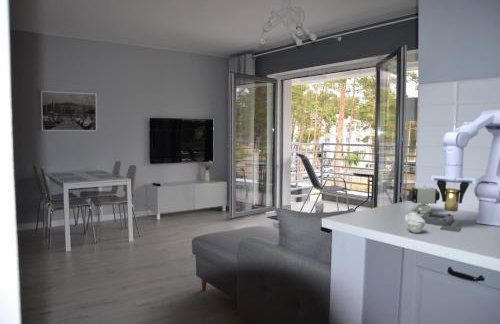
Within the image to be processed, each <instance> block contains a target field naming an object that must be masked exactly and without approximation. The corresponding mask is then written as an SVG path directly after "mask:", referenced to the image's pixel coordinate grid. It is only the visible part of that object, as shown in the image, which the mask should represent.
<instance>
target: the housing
mask: <svg viewBox="0 0 500 324" xmlns="http://www.w3.org/2000/svg"><path fill="white" fill-rule="evenodd" d="M420 217H422V218H423V219H424V220H425V223H426V224H425V225H432V226H440V227H442V226H443V225H446V226H450V225H451V223H452V222H453V221H454V218H455V215H454V214H451V213H439V212H433V211H430V212H426V213H425V214H421V216H420Z"/></svg>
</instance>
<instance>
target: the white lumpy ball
mask: <svg viewBox="0 0 500 324" xmlns="http://www.w3.org/2000/svg"><path fill="white" fill-rule="evenodd" d="M404 219H405V223H406V224H407V228H408V230H409V231H410V232H411V233H414V234H419V233H421V232H422V231H423V229H424V227H425V226H426V224H425V220H424V219H423V218H422V217H421V216H420V215H418V212H409V213H408V214H406V215H405V216H404Z"/></svg>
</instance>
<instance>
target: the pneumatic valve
mask: <svg viewBox="0 0 500 324" xmlns="http://www.w3.org/2000/svg"><path fill="white" fill-rule="evenodd" d="M440 197H441V192H440V190H438V188H434V187H426V185H423V187H412V188H411V190H409V191H408V199H409V200H410V201H411V202H412V203H414V204H418V205H417V206H416V213H419V214H421V215H424V214H425V213H426V212H431V207H430V205H429V204H433V205H434V204H437V202H438V201H439V200H440Z"/></svg>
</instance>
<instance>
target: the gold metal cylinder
mask: <svg viewBox="0 0 500 324" xmlns="http://www.w3.org/2000/svg"><path fill="white" fill-rule="evenodd" d="M459 197H460V188H451V187H446V189H445V202H444V206H443V210H445V211H447V212H453V213H454V212H458V210H459Z"/></svg>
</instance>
